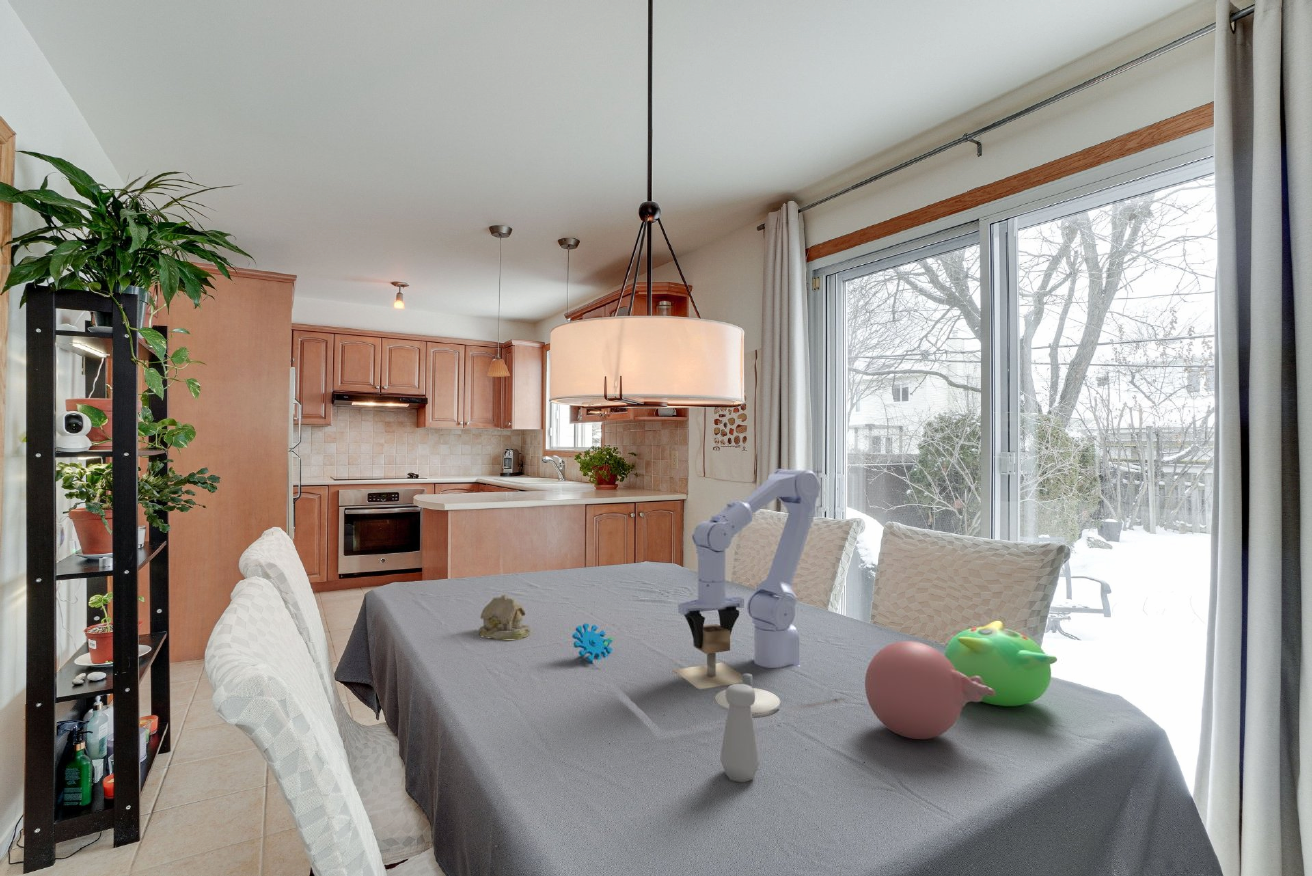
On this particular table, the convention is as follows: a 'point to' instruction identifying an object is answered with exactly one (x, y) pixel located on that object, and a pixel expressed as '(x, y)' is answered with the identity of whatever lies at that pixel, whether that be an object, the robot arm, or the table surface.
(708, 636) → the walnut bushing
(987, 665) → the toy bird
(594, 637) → the gear
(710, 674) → the birch stand
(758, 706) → the cream plate
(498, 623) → the ceramic model
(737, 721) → the salt shaker
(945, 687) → the balloon
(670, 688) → the table surface
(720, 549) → the robot arm
